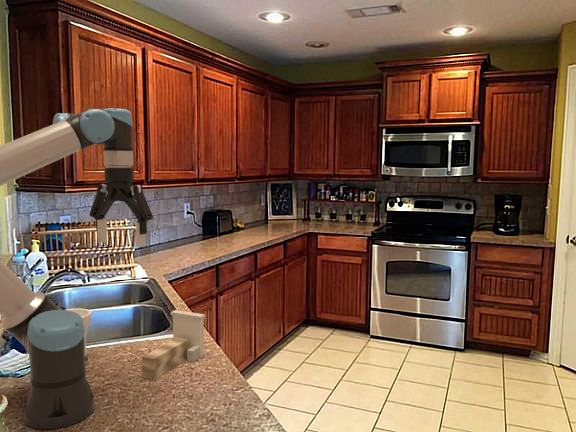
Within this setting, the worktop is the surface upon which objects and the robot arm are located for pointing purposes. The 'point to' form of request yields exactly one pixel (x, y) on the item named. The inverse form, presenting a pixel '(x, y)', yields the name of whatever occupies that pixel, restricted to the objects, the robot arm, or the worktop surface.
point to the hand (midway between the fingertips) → (121, 244)
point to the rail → (164, 358)
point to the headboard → (190, 332)
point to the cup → (84, 321)
